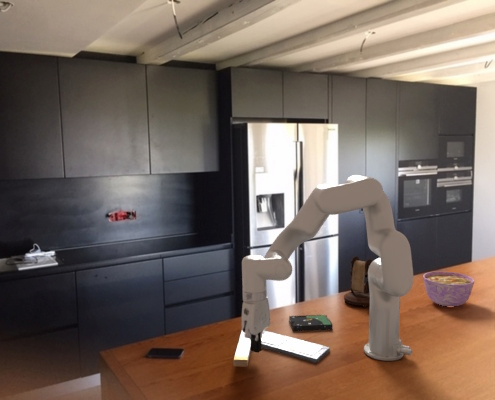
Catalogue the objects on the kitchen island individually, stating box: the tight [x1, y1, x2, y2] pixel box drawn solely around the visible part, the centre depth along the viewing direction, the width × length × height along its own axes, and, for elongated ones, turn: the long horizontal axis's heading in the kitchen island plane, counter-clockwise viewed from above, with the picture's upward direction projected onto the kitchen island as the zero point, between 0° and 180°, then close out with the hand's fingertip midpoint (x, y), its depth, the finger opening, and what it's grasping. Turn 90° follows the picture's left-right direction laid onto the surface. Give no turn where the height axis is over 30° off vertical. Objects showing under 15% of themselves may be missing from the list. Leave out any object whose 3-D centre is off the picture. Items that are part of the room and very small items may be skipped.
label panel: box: [261, 329, 331, 364], centre depth 160 cm, size 32×10×2 cm, turn 55°
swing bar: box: [233, 330, 252, 367], centre depth 155 cm, size 30×4×5 cm, turn 174°
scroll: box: [343, 255, 373, 309], centre depth 201 cm, size 15×15×20 cm
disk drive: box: [288, 314, 333, 332], centre depth 178 cm, size 10×3×15 cm
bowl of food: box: [422, 271, 475, 307], centre depth 198 cm, size 20×20×12 cm
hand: (256, 350), depth 149 cm, fingers closed
